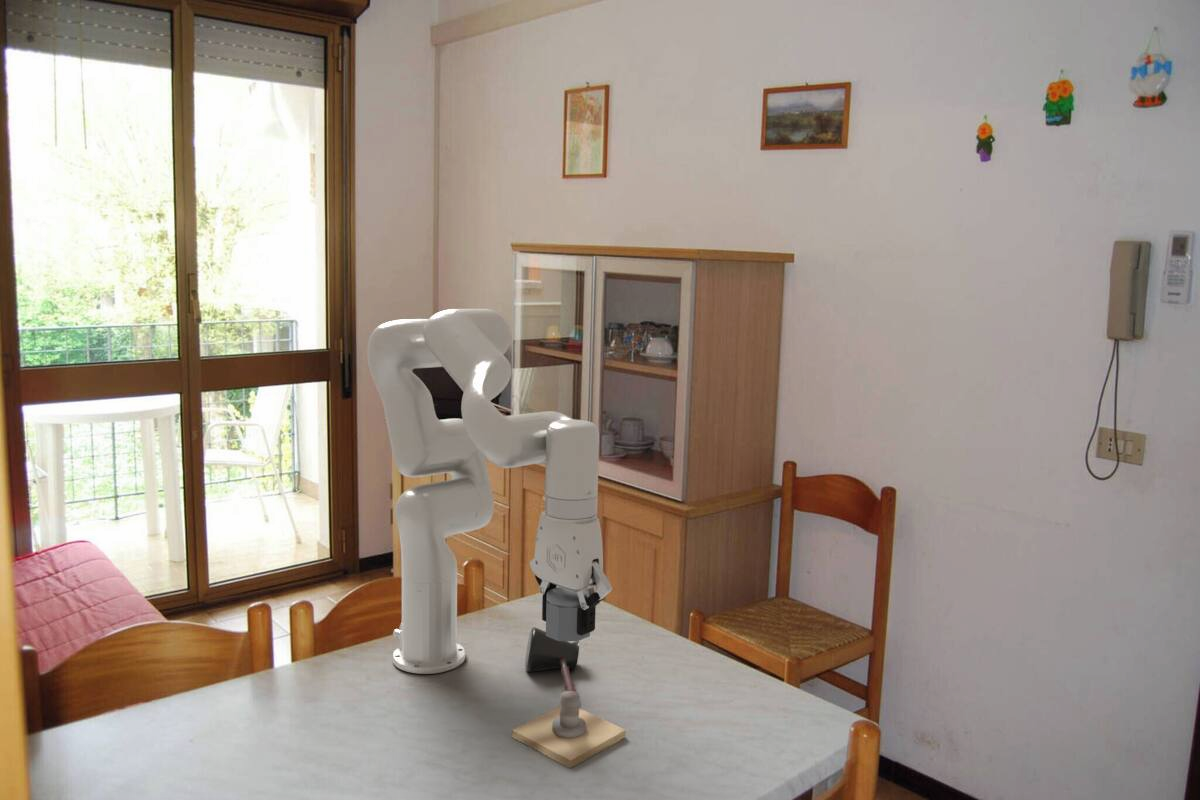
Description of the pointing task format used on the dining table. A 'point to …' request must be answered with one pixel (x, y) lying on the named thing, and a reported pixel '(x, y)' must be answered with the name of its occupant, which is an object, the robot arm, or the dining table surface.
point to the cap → (563, 615)
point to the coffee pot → (551, 655)
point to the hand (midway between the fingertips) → (568, 624)
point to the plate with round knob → (569, 732)
